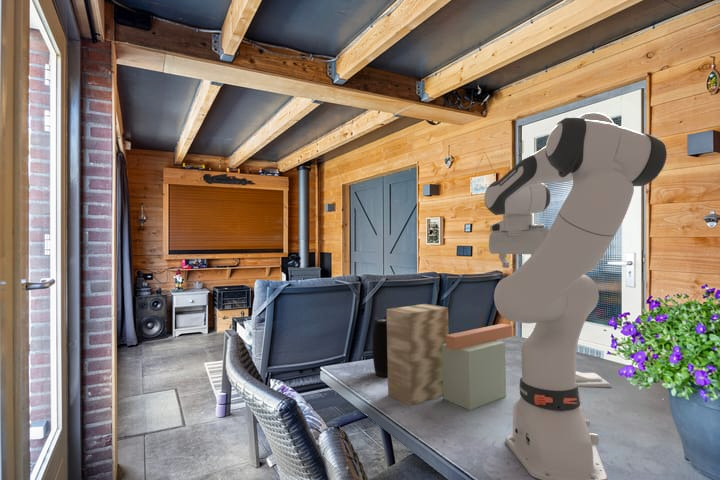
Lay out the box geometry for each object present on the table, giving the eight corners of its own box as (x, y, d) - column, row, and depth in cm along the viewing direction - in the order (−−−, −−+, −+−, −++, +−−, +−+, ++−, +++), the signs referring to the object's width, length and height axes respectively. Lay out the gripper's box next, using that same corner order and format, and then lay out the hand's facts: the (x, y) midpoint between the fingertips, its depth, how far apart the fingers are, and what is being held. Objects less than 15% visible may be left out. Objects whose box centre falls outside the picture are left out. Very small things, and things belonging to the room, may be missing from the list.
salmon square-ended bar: (502, 334, 130) (502, 323, 130) (511, 336, 127) (511, 325, 127) (445, 347, 115) (445, 335, 115) (455, 350, 112) (454, 337, 112)
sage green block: (478, 386, 128) (477, 336, 128) (506, 396, 119) (505, 342, 119) (443, 398, 118) (442, 344, 119) (470, 409, 110) (468, 351, 110)
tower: (426, 383, 131) (425, 303, 131) (449, 392, 123) (448, 307, 123) (388, 394, 122) (386, 309, 122) (410, 405, 114) (408, 313, 114)
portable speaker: (400, 378, 137) (399, 320, 137) (373, 378, 137) (371, 321, 137) (398, 369, 146) (397, 315, 146) (372, 370, 146) (371, 316, 146)
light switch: (555, 366, 138) (596, 365, 136) (556, 378, 138) (597, 377, 136) (567, 377, 127) (611, 376, 125) (568, 390, 127) (612, 389, 125)
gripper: (554, 224, 123) (555, 269, 123) (497, 226, 140) (498, 266, 140) (542, 223, 120) (543, 270, 119) (485, 226, 136) (486, 267, 136)
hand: (518, 268), depth 130 cm, fingers open, 8 cm apart
